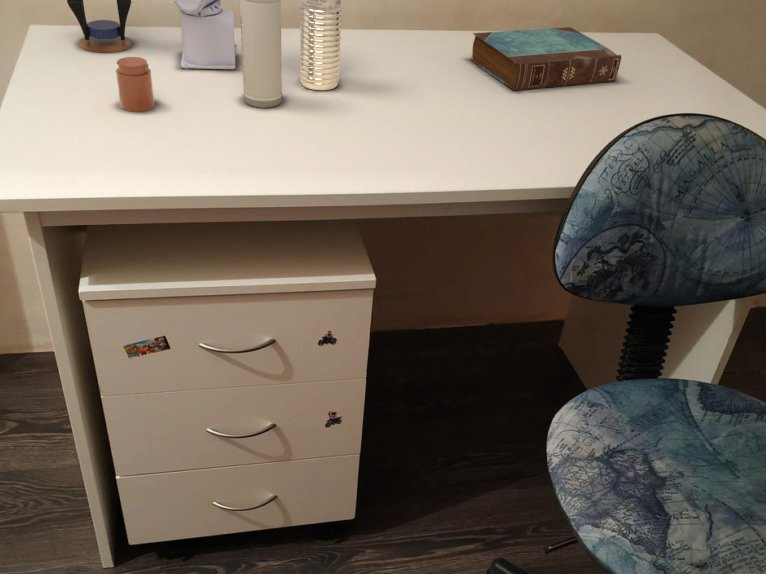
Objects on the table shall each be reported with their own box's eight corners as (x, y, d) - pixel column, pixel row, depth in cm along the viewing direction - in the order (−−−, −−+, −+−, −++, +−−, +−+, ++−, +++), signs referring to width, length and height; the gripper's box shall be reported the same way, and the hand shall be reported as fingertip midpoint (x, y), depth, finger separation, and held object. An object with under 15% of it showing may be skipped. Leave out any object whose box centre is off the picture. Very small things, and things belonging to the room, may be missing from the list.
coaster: (133, 37, 153) (133, 34, 152) (129, 53, 146) (128, 50, 146) (83, 36, 151) (83, 32, 151) (77, 52, 144) (76, 48, 144)
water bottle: (291, 82, 141) (291, -79, 125) (320, 74, 145) (323, -83, 129) (318, 94, 138) (321, -70, 122) (346, 86, 142) (353, -74, 126)
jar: (154, 99, 131) (149, 55, 126) (154, 111, 127) (149, 67, 122) (121, 99, 130) (115, 55, 125) (120, 112, 126) (113, 67, 121)
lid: (91, 28, 149) (89, 18, 148) (123, 30, 150) (122, 20, 149) (85, 38, 145) (83, 28, 144) (118, 40, 146) (116, 30, 145)
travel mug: (288, 97, 136) (288, -33, 123) (272, 111, 131) (269, -23, 118) (255, 90, 137) (251, -39, 124) (237, 103, 132) (231, -30, 119)
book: (514, 91, 146) (519, 63, 143) (468, 59, 158) (471, 32, 155) (615, 82, 154) (622, 55, 151) (564, 52, 166) (569, 26, 163)
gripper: (47, -39, 134) (62, 45, 143) (137, -37, 138) (146, 45, 147) (49, -49, 140) (63, 33, 148) (136, -47, 143) (145, 33, 152)
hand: (105, 38), depth 148 cm, fingers closed on lid, 5 cm apart
